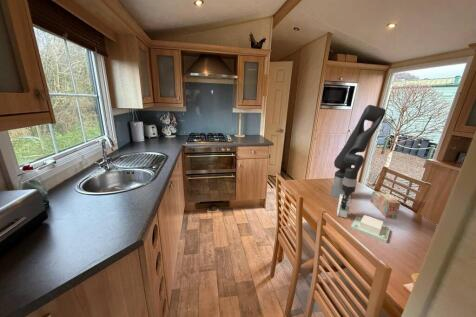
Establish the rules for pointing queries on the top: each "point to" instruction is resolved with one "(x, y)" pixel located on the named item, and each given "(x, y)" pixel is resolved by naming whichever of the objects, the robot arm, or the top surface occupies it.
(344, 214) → the white tall block
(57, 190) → the top surface
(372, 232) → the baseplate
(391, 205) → the cardboard box
